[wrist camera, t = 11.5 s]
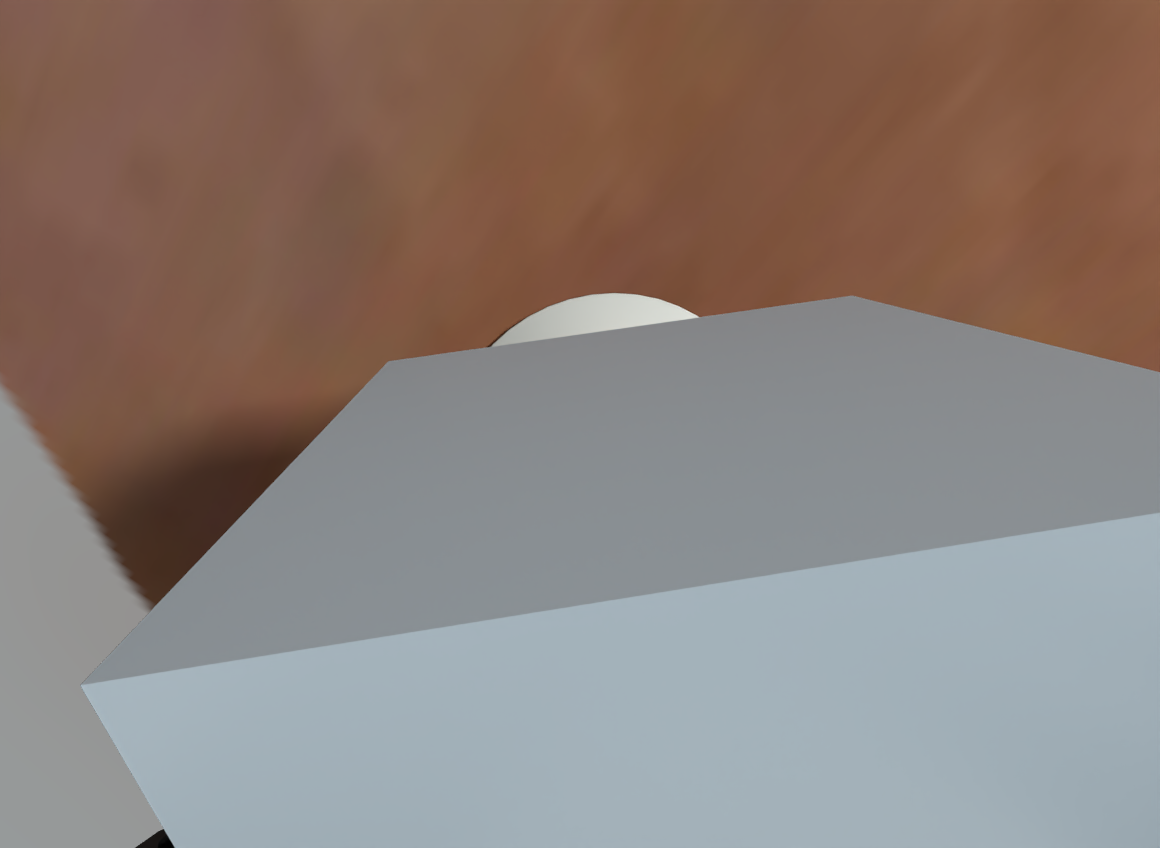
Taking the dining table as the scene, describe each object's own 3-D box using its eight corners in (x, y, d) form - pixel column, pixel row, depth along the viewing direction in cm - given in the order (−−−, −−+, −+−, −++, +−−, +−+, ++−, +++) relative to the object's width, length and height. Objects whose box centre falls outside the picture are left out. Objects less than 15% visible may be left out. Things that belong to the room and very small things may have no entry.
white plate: (763, 559, 26) (765, 562, 26) (483, 603, 25) (482, 606, 25) (761, 271, 21) (763, 271, 21) (418, 318, 21) (417, 319, 21)
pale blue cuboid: (834, 656, 16) (1158, 1123, 8) (478, 715, 16) (423, 1272, 7) (852, 295, 12) (1502, 458, 4) (388, 361, 12) (80, 685, 4)
